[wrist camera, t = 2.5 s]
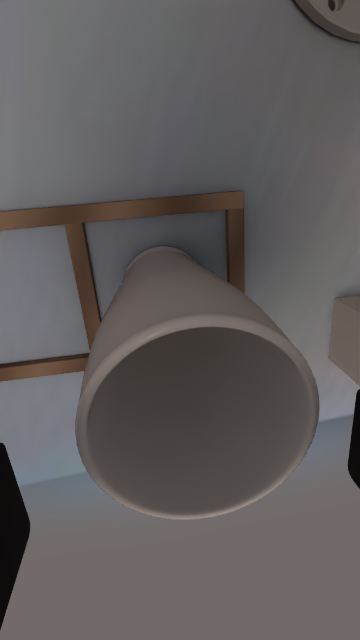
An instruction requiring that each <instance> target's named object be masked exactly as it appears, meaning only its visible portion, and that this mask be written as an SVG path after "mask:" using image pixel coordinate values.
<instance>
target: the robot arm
mask: <svg viewBox="0 0 360 640" xmlns="http://www.w3.org/2000/svg"><path fill="white" fill-rule="evenodd" d="M295 1H296V2H297V4H298V6H299V7H300V8H301V9H302V10H303V11H304V12H305V13H306V14H307V15H308V16H309V17H310V18H311V19H312V20H313V21H314V22H315V23H316V24H318V25H319V26H321V27H322V28H324V29H325V30H327V31H328V32H330V33H331V34H333V35H336V36H339V37H342V38H345V39H348V40H351V41H360V0H295ZM329 5H330V7H331V9H330V8H329ZM348 471H349V474H350V476H351V478H352V479H353V481H354V482H355V483H356V484H357V486H358V487H359V488H360V389H359V390H358V391H357V394H356V402H355V410H354V419H353V427H352V435H351V443H350V451H349V459H348ZM29 533H30V521H29V517H28V514H27V511H26V508H25V505H24V502H23V499H22V496H21V493H20V490H19V487H18V484H17V481H16V478H15V475H14V472H13V469H12V466H11V463H10V460H9V457H8V454H7V451H6V448H5V445H4V444H3V443H0V629H1V626H2V623H3V619H4V616H5V613H6V609H7V606H8V603H9V600H10V597H11V593H12V590H13V587H14V584H15V580H16V577H17V574H18V570H19V567H20V564H21V561H22V557H23V554H24V551H25V548H26V544H27V541H28V538H29Z"/></svg>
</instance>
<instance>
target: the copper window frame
mask: <svg viewBox="0 0 360 640" xmlns="http://www.w3.org/2000/svg"><path fill="white" fill-rule="evenodd" d="M216 210H226V234H227V273H228V282H229V283H231V284H232V285H233V286H235V287H236V288H238V289H239V290H240V291H242V292H243V293H244V191H233V192H222V193H210V194H199V195H187V196H176V197H164V198H152V199H141V200H129V201H118V202H106V203H95V204H83V205H72V206H60V207H49V208H37V209H26V210H14V211H3V212H0V230H8V229H19V228H30V227H41V226H51V225H62V224H65V228H66V233H67V238H68V243H69V248H70V253H71V258H72V263H73V268H74V273H75V278H76V283H77V288H78V293H79V298H80V303H81V308H82V313H83V318H84V323H85V328H86V333H87V338H88V343H89V348H90V349H91V346H92V343H93V341H94V338H95V335H96V332H97V330H98V327H99V325H100V323H101V318H100V313H99V307H98V302H97V296H96V290H95V285H94V279H93V274H92V268H91V263H90V257H89V251H88V246H87V240H86V235H85V229H84V222H95V221H106V220H117V219H128V218H139V217H150V216H161V215H172V214H183V213H194V212H205V211H216ZM88 357H89V354H82V355H74V356H66V357H58V358H50V359H42V360H33V361H25V362H17V363H9V364H1V365H0V381H8V380H16V379H24V378H32V377H39V376H47V375H55V374H63V373H71V372H79V371H85V368H86V364H87V360H88Z"/></svg>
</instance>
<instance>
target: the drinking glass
mask: <svg viewBox="0 0 360 640" xmlns="http://www.w3.org/2000/svg"><path fill="white" fill-rule="evenodd" d="M318 419H319V394H318V388H317V384H316V381H315V378H314V375H313V373H312V370H311V368H310V367H309V365H308V363H307V361H306V360H305V358H304V357H303V355H302V354H301V353H300V351H299V350H298V349H297V348H296V347H295V346H294V345H293V344H292V342H291V341H290V340H289V339H288V338H287V336H286V335H285V334H284V333H283V332H282V330H281V329H280V328H279V327H278V326H277V325H276V324H275V323H274V322H273V321H272V320H271V318H270V317H269V316H268V315H267V314H266V313H265V312H264V311H263V310H262V309H261V308H260V307H259V306H258V305H257V304H256V303H255V302H253V301H252V300H251V299H250V298H249V297H248V296H246V295H245V294H244V293H243V292H242V291H240V290H239V289H238V288H236V287H235V286H233V285H232V284H231V283H229V282H228V281H226V280H225V279H223V278H221V277H220V276H218V275H217V274H215V273H213V272H212V271H210V270H208V269H207V268H205V267H204V266H202V265H200V264H199V263H197V262H196V261H195V260H194V259H193V258H192V257H191V256H189V255H188V254H187V253H185V252H184V251H182V250H180V249H177V248H174V247H168V246H159V247H153V248H150V249H147V250H145V251H143V252H141V253H140V254H138V255H137V256H136V257H135V258H134V259H133V260H132V261H131V263H130V264H129V265H128V267H127V269H126V271H125V274H124V277H123V281H122V283H121V285H120V287H119V289H118V290H117V292H116V294H115V296H114V298H113V300H112V301H111V303H110V305H109V307H108V309H107V311H106V313H105V315H104V317H103V319H102V321H101V323H100V325H99V327H98V330H97V332H96V335H95V338H94V341H93V343H92V346H91V349H90V353H89V357H88V360H87V364H86V368H85V372H84V377H83V382H82V387H81V392H80V398H79V404H78V408H77V413H76V421H75V434H76V442H77V447H78V451H79V454H80V457H81V459H82V462H83V464H84V466H85V468H86V470H87V472H88V473H89V475H90V476H91V477H92V479H93V480H94V481H95V483H96V484H97V485H98V486H99V487H100V488H101V489H102V490H103V491H104V492H105V493H106V494H108V495H109V496H110V497H112V498H113V499H114V500H116V501H118V502H119V503H121V504H122V505H124V506H126V507H128V508H130V509H132V510H135V511H137V512H140V513H143V514H147V515H150V516H154V517H159V518H165V519H176V520H192V519H203V518H209V517H214V516H219V515H223V514H226V513H230V512H233V511H236V510H238V509H241V508H243V507H245V506H247V505H250V504H252V503H254V502H255V501H257V500H259V499H261V498H262V497H264V496H265V495H267V494H268V493H270V492H271V491H272V490H274V489H275V488H276V487H277V486H279V485H280V484H281V483H282V482H283V481H285V480H286V479H287V478H288V476H289V475H290V474H291V473H292V472H293V471H294V470H295V469H296V467H297V466H298V465H299V464H300V462H301V461H302V459H303V458H304V456H305V454H306V453H307V450H308V449H309V447H310V445H311V443H312V440H313V438H314V435H315V432H316V428H317V424H318Z"/></svg>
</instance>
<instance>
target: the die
mask: <svg viewBox="0 0 360 640" xmlns="http://www.w3.org/2000/svg"><path fill="white" fill-rule="evenodd" d="M329 359H330V360H331V361H332V362H333V363H334V364H335V365H336V366H338V367H339V368H340V369H341V370H342V371H343V372H344V373H346V374H347V375H348V376H349V377H350V378H351V379H352V380H353V381H355V382H356V383H357V384H358V385H359V386H360V296H352V297H344V298H335V299H334V307H333V317H332V327H331V337H330V348H329Z"/></svg>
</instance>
